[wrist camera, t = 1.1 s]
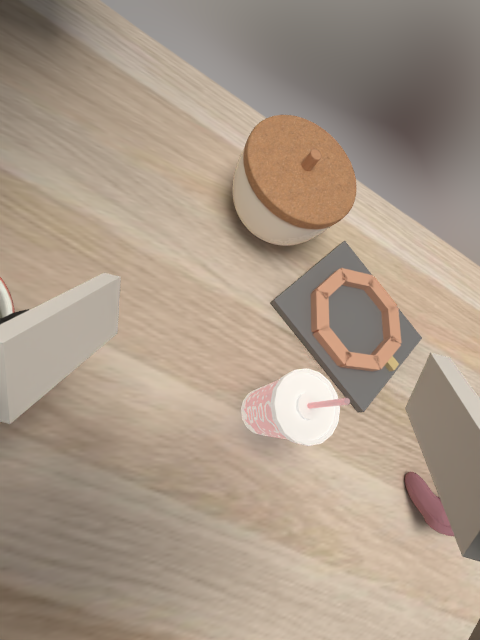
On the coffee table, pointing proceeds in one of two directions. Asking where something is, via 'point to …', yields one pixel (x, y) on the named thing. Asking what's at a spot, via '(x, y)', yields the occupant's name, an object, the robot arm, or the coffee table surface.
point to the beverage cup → (294, 408)
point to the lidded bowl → (292, 181)
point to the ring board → (348, 324)
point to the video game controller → (428, 504)
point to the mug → (5, 300)
